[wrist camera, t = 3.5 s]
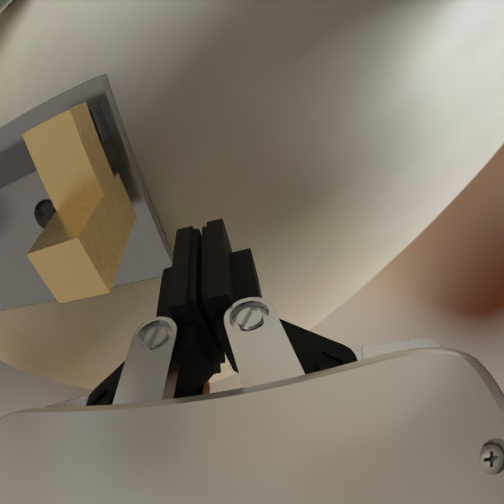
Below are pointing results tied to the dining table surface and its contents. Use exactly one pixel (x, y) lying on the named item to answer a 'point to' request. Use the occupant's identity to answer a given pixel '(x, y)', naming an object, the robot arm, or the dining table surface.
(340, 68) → the dining table surface
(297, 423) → the robot arm
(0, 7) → the syrup box
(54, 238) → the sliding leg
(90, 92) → the hole plate
